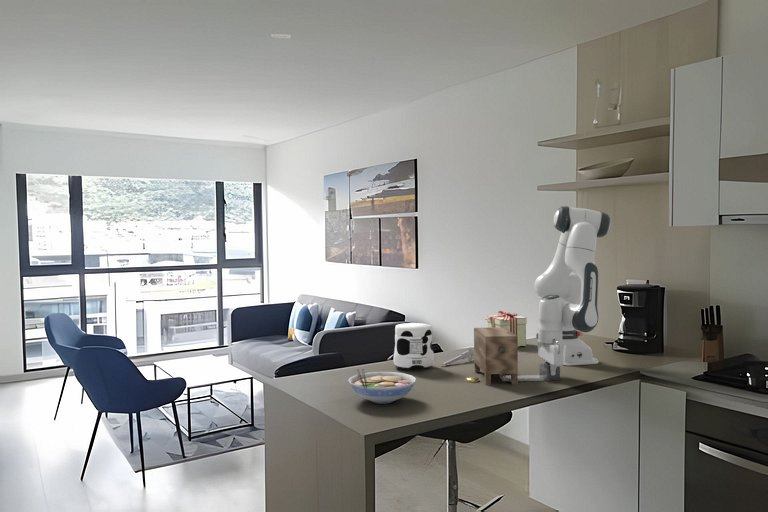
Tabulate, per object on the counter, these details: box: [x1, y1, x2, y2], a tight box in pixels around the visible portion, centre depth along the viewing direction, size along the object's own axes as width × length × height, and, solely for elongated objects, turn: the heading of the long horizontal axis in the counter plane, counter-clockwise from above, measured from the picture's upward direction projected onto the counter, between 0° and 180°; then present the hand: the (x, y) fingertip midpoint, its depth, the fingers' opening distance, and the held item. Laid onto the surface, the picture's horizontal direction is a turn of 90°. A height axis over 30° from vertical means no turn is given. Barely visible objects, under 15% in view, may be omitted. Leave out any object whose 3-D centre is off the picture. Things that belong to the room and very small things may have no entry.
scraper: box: [499, 362, 561, 383], centre depth 223 cm, size 22×9×6 cm, turn 92°
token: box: [465, 376, 480, 383], centre depth 222 cm, size 5×5×1 cm
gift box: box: [484, 310, 527, 347], centre depth 295 cm, size 17×18×17 cm
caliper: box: [441, 347, 474, 365], centre depth 254 cm, size 20×1×6 cm, turn 130°
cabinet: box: [473, 327, 519, 386], centre depth 226 cm, size 12×23×18 cm, turn 2°
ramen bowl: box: [347, 368, 417, 405], centre depth 195 cm, size 25×23×8 cm
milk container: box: [392, 322, 435, 371], centre depth 245 cm, size 17×17×18 cm
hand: (550, 373), depth 224 cm, fingers closed on scraper, 3 cm apart
